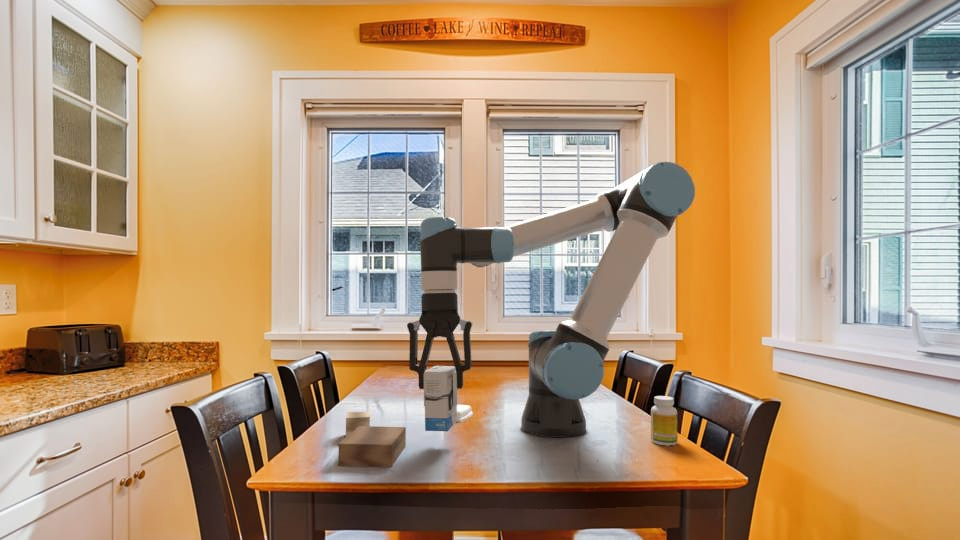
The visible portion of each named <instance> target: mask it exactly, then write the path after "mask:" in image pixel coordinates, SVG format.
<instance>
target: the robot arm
mask: <svg viewBox="0 0 960 540" xmlns="http://www.w3.org/2000/svg"><path fill="white" fill-rule="evenodd" d="M695 195H696V186H695V183H694V182H693V179H692V176H691V174H690V173H689V171H687V170H686V169H685V168H684V167H683V166H681V165H679V164H677V163H675V162H672V161H661V162H657V163H654V164H651V165H649V166H647V167H646V168H644V169H643V170H642V171H640V172H639V173H637V174H635V175H633V176H631V177H630V178H629V179H627V180H625V181H624V182H622V183H621V184H619V185H617V186H615V187H614V188H611V189H609V190H607V191H604V192H601V193H598V194H597V195H596V196H595V198H594V199H592V200H589V201H586V202H582V203H580V204H579V203H578V204H575V205H572V206H569V207H565V208H562V209H559V210H555V211H552V212H549V213H547V214H546V213H545V214H543V215H542V214H541V215H539V216H536V217H532V218H529V219H526V220H523V221H519V222H516V223H513V224H509V225H506V226H504V227H503V226H502V227H501V226H500V227H498V226H494V227H493V226H491V227H490V226H489V227H459V226H458V225H457V221H456V219H454V218H452V217H447V216H445V217H444V216H435V217H428V218H425V219H423V220H422V221H421V223H420V240H419V241H420V243H419V245H420V249H419V250H420V271H421V272H420V289H421V291H423V293H421V294H422V295H421V297H420V298H421V315H420V317H419V319H418V320H415V321H411V322H408V323H407V324H406V327H407V331H408V334H409V360H408V362H409V363H408V365H409V366H408V367H409V368H408V369H409V370H410V371H413V372H416V373H417V375H418V388H419V390H423V407H425V386H424V372H425V371H426V370H427V366H428V363H429V359H430V354H431V351H432V346H433V343H434V339H435V338H438V337H441V338H445V339H446V341H447V342H446V343H447V344H448V348H449V351H450V355H451V357H452V361H453V365H454V366H455V369H456V372H454V373H453V406H457V405H458V404H459V389H463V387H464V372H465V371H470V370H471V368H472V349H471V347H472V345H471V331H472V330H471V329H472V326H473V322H472V321H471V320H464V319H462V318H461V316H460V315H459V311H458V310H459V309H458V307H459V306H458V305H459V304H458V302H459V300H458V294H457V293H456V290H458V266H457V265H458V264H471V265H472V266H475V267H476V268H484V267H488V266H489V265H492V264H502V263H510V262H511V261H512V260H513V259H514V257H517V256H520V255H523V254H526V253H530V252H534V251H537V250H540V249H543V248H546V247H547V248H548V247H550V246H553V245H557V244H560V243H562V242H566V241H569V240H573V239H577V238H580V237H582V236H586V235H589V234H593V233H596V232H599V231H606V232H607V233H609V232H614V233H613V235H612V236H611V239H610V241H609V243H608V245H607V246H606V249H605V250H604V252H603V254H602V256H601V258H600V260H599V262H598V264H597V266H596V268H595V269H594V272H593V274H592V275H591V277H590V279H589V281H588V283H587V285H586V286H585V289H584V290H583V293H582V294H581V296H580V299H579V301H578V303H577V304H576V306H575V308H574V310H573V312H572V314H571V316H570V317H569V319H567V320H563V321H561V322H559V324H558V325H557V327H556V329H554V330H536V331H532V332H530V333H529V336H528V343H527V348H528V396H527V400H526V403H525V407H524V409H523V412H522V414H521V415H522V416H521V422H520V423H521V426H520V428H521V430H523V431H524V432H526V433H529V434H531V435H536V436H541V437H542V436H543V437H547V438H548V437H550V438H571V437H575V436H580V435H582V434H584V433H586V431H587V421H586V420H587V419H586V417H585V415H584V410H583V408H582V404H581V402H580V400H582V399H585V398H588V397H589V396H591V395H592V394H594V393H595V392H596V391H598V388H599V387H600V386H601V383H602V382H603V379H604V375H605V367H604V361H605V360H606V357H607V355H608V353H609V351H610V349H611V348H610V345H609V341H608V336H609V334H610V332H611V330H612V329H613V327H614V325H615V322H616V321H617V319H618V317H619V314H620V313H621V311H622V308H624V305H625V303H626V301H627V299H628V297H629V295H630V293H631V291H632V290H633V287H634V285H635V283H636V281H637V279H638V278H639V275H640V274H641V271H642V269H643V268H644V266H645V264H646V263H647V260H648V258H649V257H650V254H651V251H653V248H654V246H655V244H656V242H657V241H658V240H659V239H661V238H665V237H667V236H668V235H669V234H670V233H669V232H670V231H671V229H672V228H673V226H674V223H675V222H676V219H678V216H680V215H683V214H684V213H686V212H687V210H688V209H689V208H690V207H691V206H692V204H693V203H694V200H695V197H696V196H695ZM459 325H460V329H461V331H463V333H462V335H463V337H462V338H463V355H464V357H463V359H464V363H463V364H462V359H461V356H460V353H459V349H458V346H457V343H456V340H455V333H454V332H455V330H456V329H457V327H458V326H459ZM420 326H421V327H422V328H423V330H424V331H425V332H426V337H425V340H424V341H425V343H424V346H423V349H422V350H423V351H422V354H421V358H420V362H419V364H418V351H419V350H418V347H419V341H418V340H419V339H418V337H419V333H418V332H419V331H420Z"/></svg>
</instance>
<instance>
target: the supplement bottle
mask: <svg viewBox="0 0 960 540" xmlns="http://www.w3.org/2000/svg"><path fill="white" fill-rule="evenodd" d="M653 398H654V399H653V403H654V405H653V406H652V407H651V409H650V439H651V442H652V443H653V444H655V445H659V446H663V445H665V446H666V447H670V445H673V446H676V445H677V444H678V437H679V436H678V411H677V409H676V407H673V406H674V404H675V399H674V397H673V396H667V395H656V396H654V397H653ZM665 446H664V447H665Z"/></svg>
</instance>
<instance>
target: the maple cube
mask: <svg viewBox="0 0 960 540" xmlns="http://www.w3.org/2000/svg"><path fill="white" fill-rule="evenodd" d="M370 423H371V411H370V410H369V411H351V412H350V411H349V412H348V411H347V412H346V417H345V438H346V437H347V436H348V435H349V434H350V433H351V432H353V431H354V430H355V429H356V428H357V427H358V426H371V425H370Z"/></svg>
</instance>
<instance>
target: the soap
mask: <svg viewBox="0 0 960 540" xmlns="http://www.w3.org/2000/svg"><path fill="white" fill-rule="evenodd" d="M472 416H474V412H473V411H472V407H471V406H470V405H468V404H459V403H458V405H457V421H456V422H455V423H462V422H465V421H466V420H468V419H470V417H472Z"/></svg>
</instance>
